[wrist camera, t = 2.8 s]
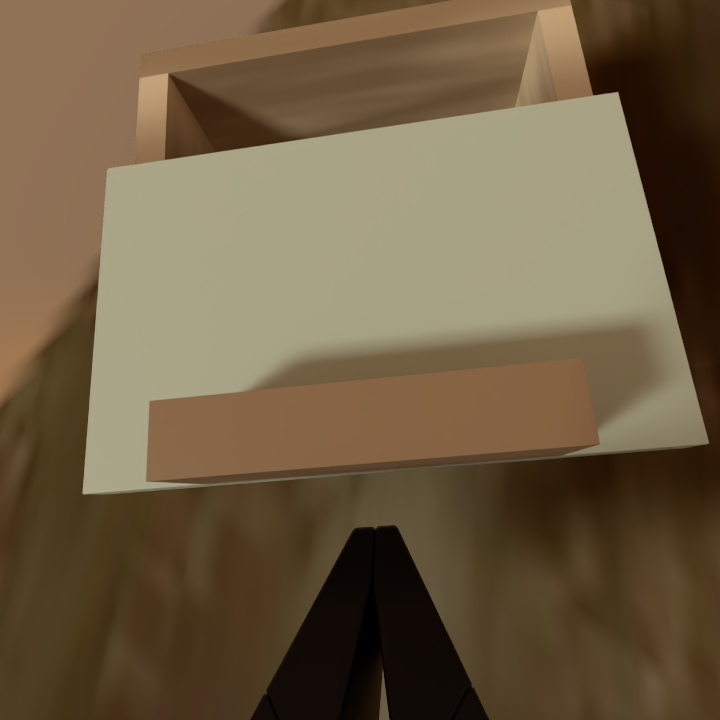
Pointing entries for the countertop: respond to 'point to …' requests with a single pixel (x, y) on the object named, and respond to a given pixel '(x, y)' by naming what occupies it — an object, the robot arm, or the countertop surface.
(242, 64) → the box
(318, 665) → the robot arm
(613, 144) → the lid
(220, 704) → the countertop surface
